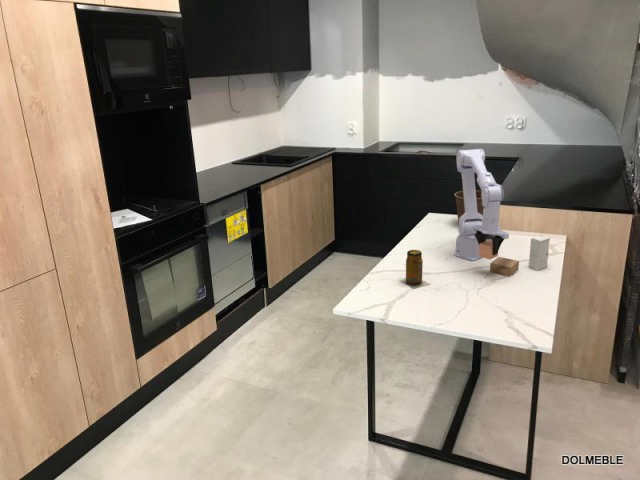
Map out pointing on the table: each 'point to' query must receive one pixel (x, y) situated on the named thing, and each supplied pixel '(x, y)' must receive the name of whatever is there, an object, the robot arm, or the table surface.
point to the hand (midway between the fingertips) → (488, 252)
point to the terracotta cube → (486, 250)
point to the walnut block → (504, 266)
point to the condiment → (414, 269)
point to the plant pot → (460, 203)
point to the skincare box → (539, 252)
